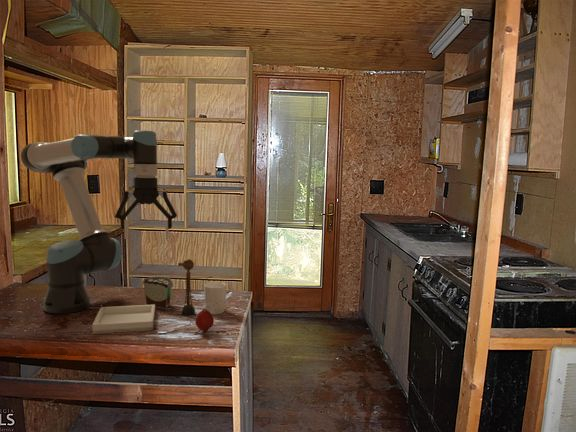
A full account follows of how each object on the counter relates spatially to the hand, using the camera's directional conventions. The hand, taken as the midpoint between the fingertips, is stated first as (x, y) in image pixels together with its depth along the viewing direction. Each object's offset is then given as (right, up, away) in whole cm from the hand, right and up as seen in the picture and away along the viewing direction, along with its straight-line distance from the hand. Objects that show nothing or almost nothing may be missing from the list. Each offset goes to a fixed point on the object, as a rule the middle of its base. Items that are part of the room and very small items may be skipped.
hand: (147, 238), depth 155 cm
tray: (-5, -28, -6) cm, 29 cm away
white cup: (+22, -27, +7) cm, 36 cm away
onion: (+22, -30, -11) cm, 39 cm away
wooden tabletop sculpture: (+13, -27, +4) cm, 30 cm away
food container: (+2, -26, +12) cm, 29 cm away
